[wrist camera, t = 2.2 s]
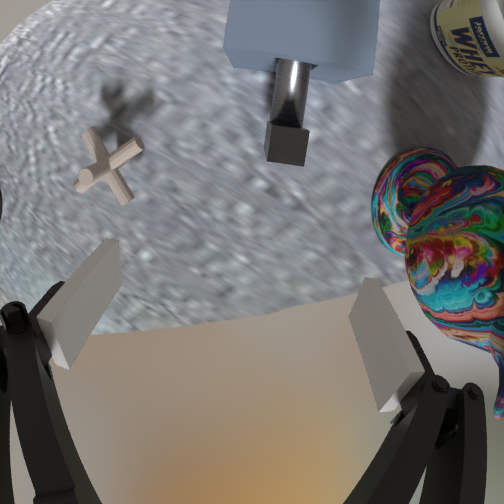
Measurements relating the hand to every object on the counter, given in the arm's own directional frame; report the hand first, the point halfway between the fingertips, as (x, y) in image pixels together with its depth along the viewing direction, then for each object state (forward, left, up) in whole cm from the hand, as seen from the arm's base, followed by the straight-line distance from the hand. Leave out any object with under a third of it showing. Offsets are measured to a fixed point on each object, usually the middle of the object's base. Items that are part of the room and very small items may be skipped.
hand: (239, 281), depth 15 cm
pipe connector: (-16, +1, -23) cm, 28 cm away
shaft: (+3, +16, -19) cm, 25 cm away
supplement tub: (+27, +27, -23) cm, 45 cm away
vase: (+25, 0, -23) cm, 34 cm away
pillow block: (+3, +17, -23) cm, 29 cm away
